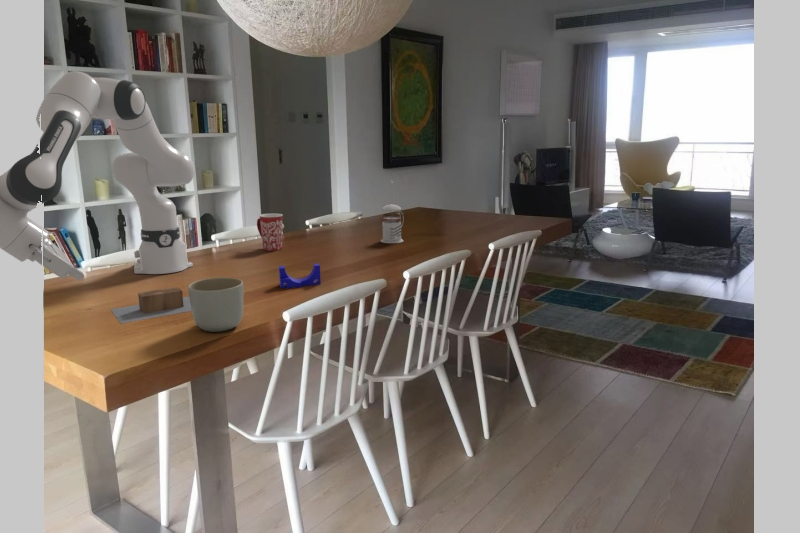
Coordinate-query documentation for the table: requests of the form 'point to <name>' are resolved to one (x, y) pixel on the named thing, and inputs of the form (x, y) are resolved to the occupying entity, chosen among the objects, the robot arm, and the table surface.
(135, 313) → the mat
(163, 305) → the walnut block
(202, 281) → the planter
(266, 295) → the table surface
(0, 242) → the robot arm
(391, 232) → the french press
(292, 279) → the blue cradle bracket
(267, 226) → the mug
